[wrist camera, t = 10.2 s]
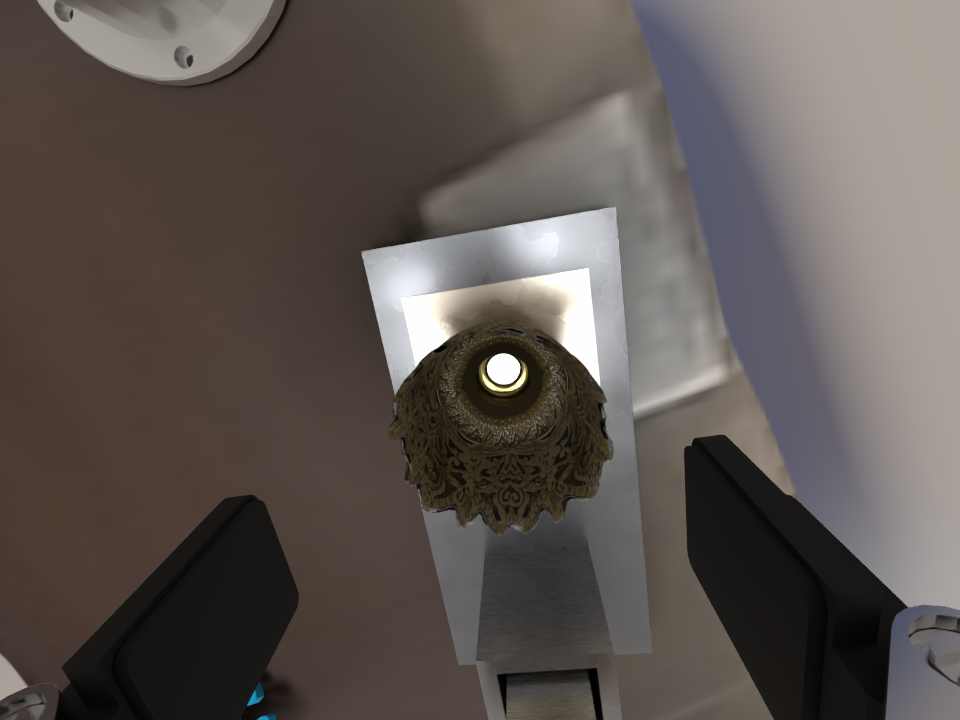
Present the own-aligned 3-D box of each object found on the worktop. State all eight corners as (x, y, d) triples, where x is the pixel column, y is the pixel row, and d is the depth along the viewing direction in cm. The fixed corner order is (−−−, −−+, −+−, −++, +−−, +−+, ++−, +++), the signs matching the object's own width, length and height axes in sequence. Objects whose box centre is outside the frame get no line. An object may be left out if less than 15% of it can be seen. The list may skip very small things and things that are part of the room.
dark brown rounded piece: (416, 308, 22) (363, 351, 14) (567, 282, 21) (600, 313, 13) (446, 445, 24) (415, 548, 16) (586, 426, 23) (623, 526, 15)
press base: (370, 250, 23) (298, 260, 15) (608, 208, 21) (663, 196, 14) (461, 644, 30) (443, 788, 22) (644, 631, 28) (694, 780, 21)
